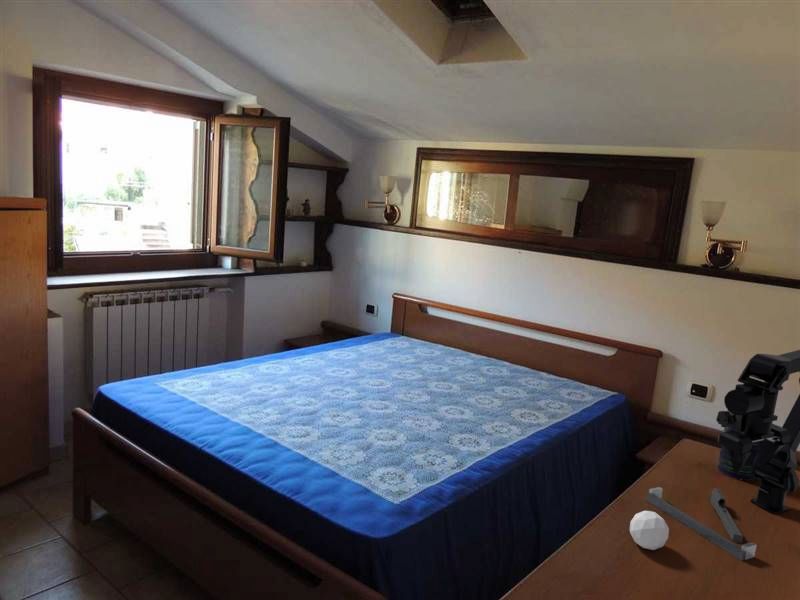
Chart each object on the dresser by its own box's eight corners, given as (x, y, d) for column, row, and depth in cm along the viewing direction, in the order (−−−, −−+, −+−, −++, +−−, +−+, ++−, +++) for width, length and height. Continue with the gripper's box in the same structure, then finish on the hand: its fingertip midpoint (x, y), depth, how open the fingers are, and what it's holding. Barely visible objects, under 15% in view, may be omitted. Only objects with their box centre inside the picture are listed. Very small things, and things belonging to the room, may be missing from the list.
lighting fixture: (744, 545, 140) (748, 528, 139) (731, 543, 140) (735, 526, 139) (719, 503, 158) (722, 488, 157) (708, 501, 158) (711, 486, 157)
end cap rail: (657, 498, 157) (659, 486, 157) (754, 557, 134) (756, 544, 134) (646, 500, 155) (648, 489, 155) (741, 560, 133) (744, 547, 132)
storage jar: (710, 470, 176) (720, 420, 174) (724, 461, 183) (733, 413, 180) (748, 484, 169) (759, 432, 166) (761, 475, 176) (771, 425, 173)
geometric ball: (644, 562, 134) (637, 542, 129) (627, 530, 140) (620, 511, 136) (678, 549, 133) (672, 529, 129) (659, 518, 140) (653, 497, 135)
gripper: (753, 392, 157) (742, 450, 161) (703, 400, 149) (692, 461, 152) (797, 409, 148) (785, 470, 151) (747, 418, 139) (734, 483, 142)
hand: (748, 470), depth 149 cm, fingers open, 9 cm apart
